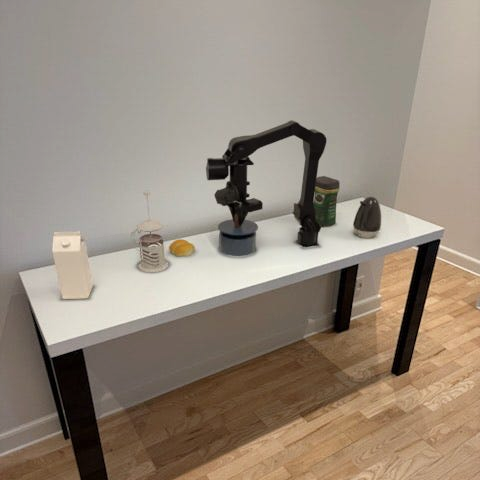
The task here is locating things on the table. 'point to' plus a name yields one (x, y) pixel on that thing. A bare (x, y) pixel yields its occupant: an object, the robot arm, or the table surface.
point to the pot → (237, 244)
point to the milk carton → (72, 265)
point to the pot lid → (237, 227)
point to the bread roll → (182, 248)
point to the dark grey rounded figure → (368, 218)
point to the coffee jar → (326, 200)
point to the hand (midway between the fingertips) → (238, 223)
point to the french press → (151, 260)
